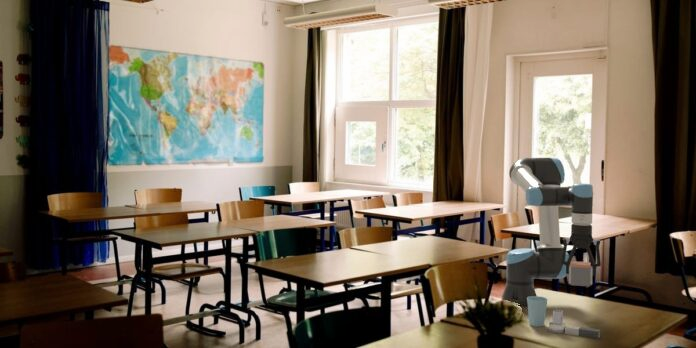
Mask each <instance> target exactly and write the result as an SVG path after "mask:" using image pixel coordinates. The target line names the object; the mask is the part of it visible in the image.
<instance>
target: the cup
mask: <svg viewBox="0 0 696 348" xmlns="http://www.w3.org/2000/svg"><path fill="white" fill-rule="evenodd" d="M527 303H528V306H527V310H528V311H527V313H528V323H529V326H531V327H537V328H538V327H539V328H540V327H544V326H545V323H546V313H547V307H548V298H547V297H544V296H538V295H536V296H531V297H527Z"/></svg>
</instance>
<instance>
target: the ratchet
mask: <svg viewBox="0 0 696 348" xmlns="http://www.w3.org/2000/svg"><path fill="white" fill-rule="evenodd" d="M563 320H564V310H563V309H557V308H556V309H553V310H552V321H550V322H549V324H548V325H549V329H548V332H549V333H551V334H554V335H555V334H556V335H561V334H562V335H563V334H565V335H569V336H570V335H571V336H572V335H573V336H576V337H577V336H578V337H584V338H591V339H595V340H596V339H598V340H600V339H599V338H600V337H601V329H597V328H590V327H583V326H580V327H578V326H571V325H567V324H566V323H565V322H564V321H563Z"/></svg>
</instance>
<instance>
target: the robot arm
mask: <svg viewBox="0 0 696 348" xmlns="http://www.w3.org/2000/svg"><path fill="white" fill-rule="evenodd" d="M565 175H566V173H565V169H564V165H563V163H562V161H561V160H560V159H559V158H556V157H525V158H524V157H522V158H520V159H518V160H517V161H515V162H513V164H512V165H511V167H510V169H509V178H510V181H512V183H513V184H515V185H516V186H519V187H520V188H521V189H522V190H523V191H524V193H525V202H526V204H527V205H528V206H533V207H538V208H537V209H538V211H537V212H538V228H539V245H538V246H537V247H536V251H535V250H534V249H533V248H530V247H529V248H528V247H527V248H525V247H523V248H515V249H512V250H510V251H508V252H507V254H506V261H505V263H506V273H505V274H506V277H505V278H506V282H505V287H504V289H503V293H502V296H501V301H502V300H508V301H511V302H515V303H518V304H520V305H522V306H521V307H528V303H527V297H531V296H537V293H536V290H535V286H534V279H535V280H536V279H539V280H540V279H541V280H542V279H543V280H544V279H547V280H548V279H549V280H550V279H552V280H553V279H554V280H557V279H564V278H565V277H567V275H568V284H571V262H572V261H573V260H572V259H573V257H574V255H575V253H576V250H577V249H584V250H586V252H587V256H588V258H589V262H591V272H590V286H592V285H593V277H595V276H597V275H596V274H597V272H596V270H597V269H596V268H598V267H601V265H602V264H601V263H602V262H601V253H600V245H601V240H600V239H594V238H593V225H592V224H593V205H594V204H593V199H594V189H593V185H592V184H590V183H573V184H572V186H571V185H569V186H568V185H567V186H561V184H563V183H564V182H565ZM559 207H571V223H572V224H571V227H570V228H571V230H570V231H571V233H570V236H569V237H563V239H562V243H563V246H562V244H561V235H560V218H559ZM570 242H571V244H572V245H573V246H572V248H571V251H570V254H569V253H568V252H567V249H568V244H569V243H570ZM592 243H593V245H594V246H595V254H596V262H595V259H594V257H593V254H592V251H591V249H590V245H591V244H592Z"/></svg>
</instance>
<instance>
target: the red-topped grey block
mask: <svg viewBox="0 0 696 348" xmlns="http://www.w3.org/2000/svg"><path fill="white" fill-rule="evenodd" d="M570 265H571V283H570V286H577V287H579V286H580V287H591V285H590V272H591V267H592V264H591V261H573V260H571V262H570Z"/></svg>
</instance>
